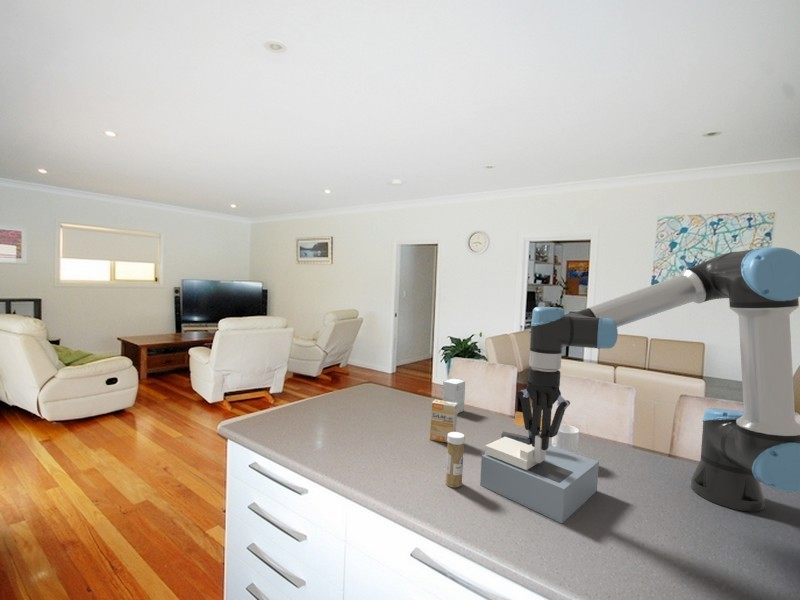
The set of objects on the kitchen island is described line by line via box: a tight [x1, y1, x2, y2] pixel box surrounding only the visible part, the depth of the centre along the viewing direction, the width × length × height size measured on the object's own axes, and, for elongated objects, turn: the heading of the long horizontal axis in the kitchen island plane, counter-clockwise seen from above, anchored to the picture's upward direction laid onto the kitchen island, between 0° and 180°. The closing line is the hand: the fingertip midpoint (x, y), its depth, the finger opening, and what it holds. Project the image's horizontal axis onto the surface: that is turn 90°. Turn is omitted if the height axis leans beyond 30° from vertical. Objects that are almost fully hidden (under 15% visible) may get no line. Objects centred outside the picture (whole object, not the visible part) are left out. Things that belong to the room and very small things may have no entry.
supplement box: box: [429, 398, 458, 444], centre depth 134 cm, size 8×5×13 cm, turn 68°
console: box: [479, 441, 600, 524], centre depth 104 cm, size 22×22×8 cm
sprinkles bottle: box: [445, 431, 466, 488], centre depth 104 cm, size 5×5×14 cm
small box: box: [442, 378, 466, 415], centre depth 165 cm, size 8×6×13 cm
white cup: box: [551, 423, 580, 454], centre depth 122 cm, size 8×8×10 cm
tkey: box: [500, 410, 542, 444], centre depth 113 cm, size 2×12×8 cm, turn 64°
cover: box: [484, 437, 546, 470], centre depth 103 cm, size 12×10×4 cm
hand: (539, 460), depth 99 cm, fingers closed
